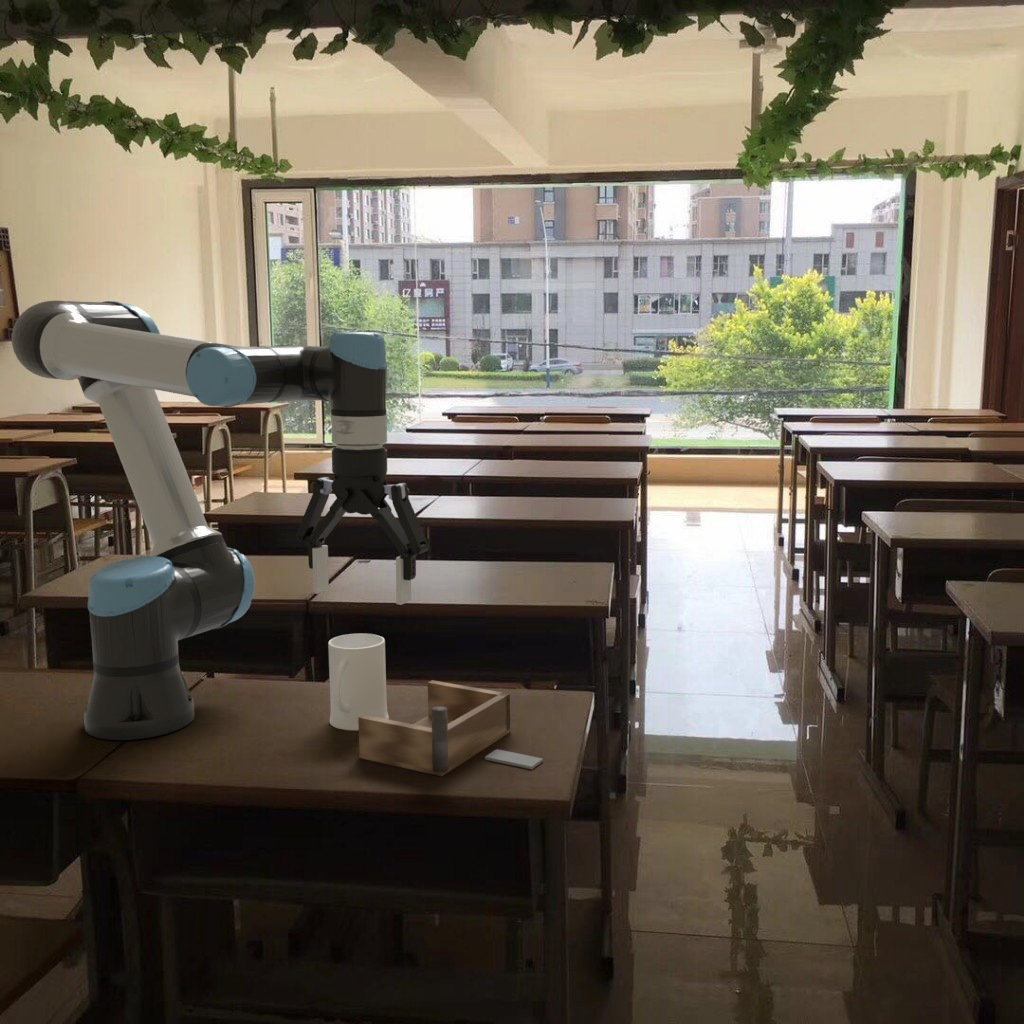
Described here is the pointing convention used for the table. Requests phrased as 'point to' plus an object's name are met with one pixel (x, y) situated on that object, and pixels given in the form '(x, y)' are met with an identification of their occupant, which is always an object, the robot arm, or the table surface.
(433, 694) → the keeper cradle
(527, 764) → the grey rectangular slab
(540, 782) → the table surface
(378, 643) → the mug
